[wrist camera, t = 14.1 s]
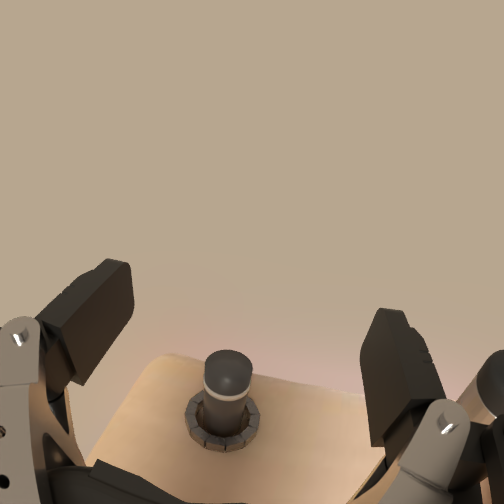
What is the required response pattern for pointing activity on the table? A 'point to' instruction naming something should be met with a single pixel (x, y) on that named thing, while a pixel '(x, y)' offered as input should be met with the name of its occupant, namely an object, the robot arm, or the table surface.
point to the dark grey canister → (225, 392)
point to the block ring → (215, 441)
